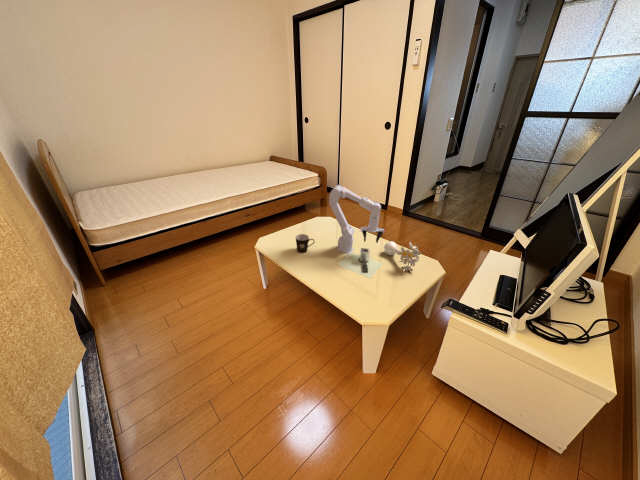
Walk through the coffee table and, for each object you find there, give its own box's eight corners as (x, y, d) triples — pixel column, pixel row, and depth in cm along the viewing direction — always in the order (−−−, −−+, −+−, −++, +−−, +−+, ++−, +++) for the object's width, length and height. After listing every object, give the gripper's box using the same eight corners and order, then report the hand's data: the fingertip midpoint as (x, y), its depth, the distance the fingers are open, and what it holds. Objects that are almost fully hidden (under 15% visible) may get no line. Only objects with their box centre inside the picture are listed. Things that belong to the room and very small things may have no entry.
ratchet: (370, 272, 143) (371, 266, 141) (360, 272, 144) (361, 265, 141) (368, 258, 157) (368, 252, 155) (358, 257, 157) (359, 251, 155)
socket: (360, 260, 152) (361, 252, 149) (359, 256, 156) (360, 248, 153) (368, 261, 151) (369, 252, 148) (367, 256, 156) (368, 248, 153)
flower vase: (382, 263, 165) (407, 276, 143) (378, 238, 159) (403, 248, 137) (398, 256, 169) (425, 268, 146) (394, 231, 163) (422, 240, 140)
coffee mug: (293, 252, 161) (293, 238, 156) (299, 246, 168) (299, 233, 163) (309, 256, 158) (309, 242, 153) (314, 249, 165) (315, 236, 160)
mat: (337, 265, 150) (337, 264, 149) (351, 252, 163) (351, 252, 163) (370, 278, 139) (370, 278, 139) (382, 264, 152) (382, 263, 152)
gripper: (362, 224, 148) (359, 243, 155) (386, 225, 147) (382, 245, 154) (361, 219, 154) (359, 238, 161) (384, 221, 154) (381, 240, 160)
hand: (370, 241), depth 158 cm, fingers open, 7 cm apart
